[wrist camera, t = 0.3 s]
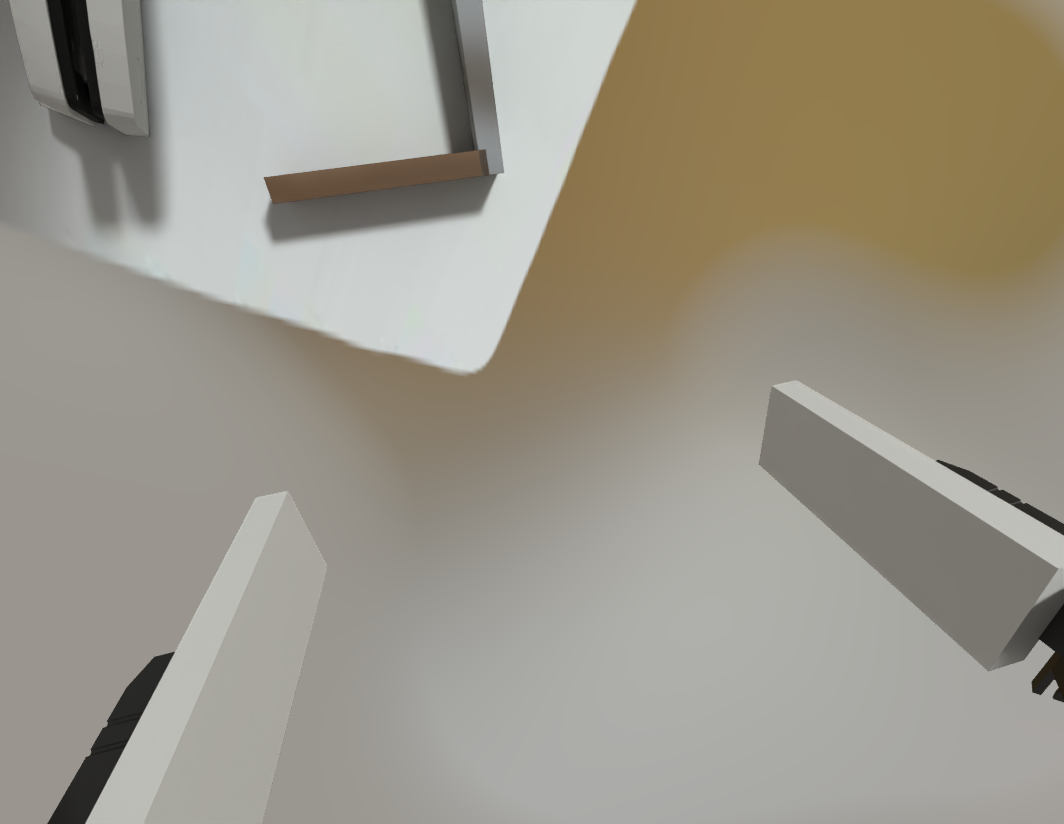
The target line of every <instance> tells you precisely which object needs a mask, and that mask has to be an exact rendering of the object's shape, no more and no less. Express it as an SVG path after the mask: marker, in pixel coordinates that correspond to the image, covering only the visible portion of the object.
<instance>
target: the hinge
mask: <svg viewBox="0 0 1064 824" xmlns="http://www.w3.org/2000/svg"><path fill="white" fill-rule="evenodd" d="M9 2H10V7H11V12H12V17H13V21H14V25H15V29H16V33H17V38H18V42H19V46H20V50H21V54H22V58H23V62H24V66H25V70H26V74H27V78H28V82H29V86H30V89H31V92H32V94H33V96H34V98H35V99H36V100H38V101H40V105H42V106H44V107H47V108H49V109H52V110H54V111H57V112H59V113H62V114H64V115H67V116H69V117H71V118H74V119H76V120H79V121H81V122H84V123H86V124H89V125H91V126H94V127H96V122H98V123H102V124H104V120H105V121H106V123H108V124H109V125H111V126H112V127H114V128H116V129H117V130H119V131H120V132H122V133H124V134H125V135H134V136H148V137H149V136H150V135H149V120H148V105H147V91H146V76H145V61H144V47H143V32H142V17H141V2H140V0H9Z"/></svg>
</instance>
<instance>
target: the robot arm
mask: <svg viewBox="0 0 1064 824" xmlns="http://www.w3.org/2000/svg"><path fill="white" fill-rule="evenodd" d="M759 465H760V466H761V467H762V468H764V469H765V470H766V471H767V472H768V473H769V474H770V475H771V476H773V478H775V479H776V480H777V481H778V482H779V483H780V484H781V485H782V486H783V487H785V488H786V489H787V490H788V491H789V492H790V493H791V494H792V495H793V496H795V497H796V498H797V499H798V500H799V501H800V502H801V503H802V504H803V505H805V506H806V507H807V508H808V509H809V510H810V511H811V512H812V513H814V514H815V515H816V516H817V517H818V518H819V519H820V520H821V521H822V522H824V523H825V524H826V525H827V526H828V527H829V528H830V529H831V530H832V531H833V532H835V533H836V534H837V535H838V536H839V537H840V538H841V539H842V540H843V541H845V542H846V543H847V544H848V545H849V546H850V547H851V548H852V549H853V550H854V551H856V552H857V553H858V554H859V555H860V556H862V558H863V559H864V560H866V561H867V562H868V563H869V564H870V565H871V566H872V567H874V569H876V570H877V571H878V572H879V573H880V574H881V575H882V576H883V577H884V578H886V579H887V580H888V581H889V582H890V583H891V584H892V585H893V586H895V587H896V588H897V589H898V590H899V591H900V592H901V593H902V594H903V595H904V596H906V597H907V598H908V599H909V600H910V601H911V602H912V603H913V604H914V605H916V606H917V607H918V608H919V609H920V610H921V611H922V612H923V613H925V614H926V615H927V616H928V617H929V618H930V619H931V620H932V621H933V622H934V623H935V624H937V625H938V626H939V627H940V628H941V629H942V630H943V631H944V632H946V633H947V634H948V635H949V636H950V637H951V638H952V639H953V640H954V641H955V642H957V643H958V644H959V645H960V646H961V647H962V648H963V649H964V650H966V651H967V652H968V653H969V654H970V655H971V656H972V657H973V658H974V659H975V660H977V661H978V662H979V663H980V664H981V665H982V666H983V667H984V668H985V669H987V670H988V671H991V670H994V669H997V668H1000V667H1003V666H1006V665H1010V664H1013V663H1016V662H1019V661H1022V660H1024V659H1025V658H1026V657H1027V655H1028V654H1029V652H1030V651H1031V650H1032V648H1033V647H1034V646H1035V644H1036V643H1037V642H1038V640H1039V639H1040V640H1041V641H1042V642H1044V643H1045V644H1046V645H1047V646H1049V647H1050V648H1051V649H1053V650H1054V651H1055V653H1054V654H1053V655H1052V657H1051V658H1050V659H1049V660H1048V662H1047V663H1046V664H1045V666H1044V667H1043V668H1042V669H1041V671H1040V672H1039V673H1038V674H1037V676H1036V677H1035V678H1034V679H1033V681H1032V692H1033V693H1036V694H1039V695H1041V694H1042V693H1043V692H1044V691H1045V689H1046V688H1047V687H1048V686H1049V685H1050V683H1051V682H1052V681H1053V680H1056V682H1057V684H1058V687H1059V688H1058V689H1057V690H1056V692H1055V694H1054V695H1053V698H1054V699H1055V700H1058V701H1062V702H1064V524H1063V523H1061V522H1059V521H1058V520H1056V519H1054V518H1052V517H1050V516H1048V515H1047V514H1045V513H1043V512H1042V511H1040V510H1038V509H1036V508H1034V507H1033V506H1031V505H1029V504H1027V503H1025V504H1023V503H1021V501H1020V499H1018V498H1017V497H1015V496H1013V495H1011V494H1010V493H1008V492H1006V491H1004V490H998V488H997V486H995V485H993V484H992V483H990V482H988V481H986V480H985V479H983V478H981V477H979V476H978V475H976V474H974V473H972V472H970V471H968V470H965V469H962V468H960V467H956V466H954V465H951V464H948V463H946V462H943V461H940V460H937V461H934V460H933V459H931V458H929V457H928V456H926V455H924V454H922V453H921V452H919V451H917V450H915V449H913V448H912V447H910V446H909V445H907V444H905V443H903V442H901V441H900V440H898V439H897V438H895V437H893V436H891V435H889V434H888V433H886V432H884V431H883V430H881V429H879V428H878V427H876V426H874V425H872V424H870V423H869V422H867V421H865V420H864V419H862V418H860V417H859V416H857V415H855V414H853V413H852V412H850V411H848V410H846V409H845V408H843V407H841V406H840V405H838V404H836V403H835V402H833V401H831V400H829V399H828V398H826V397H824V396H822V395H821V394H819V393H817V392H816V391H814V390H812V389H810V388H809V387H807V386H805V385H803V384H802V383H800V382H798V381H791V382H787V383H782V384H777V385H773V386H772V387H771V393H770V399H769V405H768V412H767V417H766V423H765V430H764V435H763V442H762V448H761V454H760V461H759ZM326 570H327V565H326V563H325V561H324V559H323V557H322V555H321V554H320V552H319V550H318V548H317V546H316V544H315V542H314V540H313V538H312V536H311V534H310V533H309V530H308V528H307V526H306V524H305V522H304V520H303V519H302V517H301V515H300V513H299V511H298V509H297V507H296V505H295V503H294V501H293V499H292V497H291V495H290V493H289V491H284V492H280V493H276V494H271V495H266V496H262V497H257V498H256V499H255V500H254V502H253V504H252V506H251V508H250V510H249V512H248V514H247V516H246V518H245V520H244V522H243V523H242V525H241V527H240V529H239V531H238V533H237V535H236V537H235V539H234V541H233V542H232V545H231V546H230V548H229V550H228V552H227V554H226V556H225V558H224V560H223V562H222V563H221V566H220V567H219V569H218V571H217V573H216V575H215V577H214V579H213V581H212V583H211V585H210V586H209V589H208V590H207V592H206V594H205V596H204V598H203V600H202V602H201V604H200V606H199V607H198V609H197V611H196V613H195V615H194V617H193V619H192V621H191V623H190V625H189V627H188V629H187V631H186V632H185V634H184V636H183V638H182V640H181V642H180V644H179V646H178V648H177V649H176V651H175V652H172V653H168V654H164V655H160V656H156V657H154V658H153V659H152V660H151V661H150V663H149V664H148V665H147V666H146V667H145V668H144V669H143V670H142V671H141V672H140V673H139V674H138V676H137V677H136V678H135V679H134V680H133V681H132V682H131V683H130V684H129V686H128V687H127V688H126V689H125V691H124V693H123V695H122V696H121V698H120V700H119V702H118V703H117V705H116V707H115V708H114V710H113V712H112V714H111V715H110V717H109V719H108V720H107V722H108V725H107V727H105V728H103V729H102V731H101V732H100V734H99V736H98V738H97V739H96V741H95V743H94V745H93V746H92V748H91V755H90V756H88V757H86V758H85V760H84V762H83V763H82V765H81V767H80V769H79V770H78V772H77V774H76V776H75V777H74V779H73V781H72V782H71V784H70V786H69V787H68V789H67V791H66V793H65V795H64V796H63V798H62V800H61V801H60V803H59V805H58V807H57V808H56V810H55V812H54V814H53V815H52V817H51V819H50V820H49V822H48V824H262V822H263V818H264V814H265V810H266V806H267V802H268V798H269V794H270V790H271V786H272V783H273V779H274V775H275V771H276V767H277V763H278V759H279V755H280V751H281V747H282V743H283V739H284V736H285V732H286V728H287V724H288V720H289V716H290V712H291V708H292V704H293V700H294V696H295V692H296V688H297V684H298V680H299V677H300V673H301V669H302V665H303V661H304V657H305V653H306V649H307V645H308V641H309V637H310V633H311V629H312V625H313V621H314V617H315V613H316V610H317V605H318V602H319V598H320V594H321V590H322V586H323V582H324V578H325V574H326Z"/></svg>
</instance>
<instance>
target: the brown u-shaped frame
mask: <svg viewBox="0 0 1064 824" xmlns="http://www.w3.org/2000/svg"><path fill="white" fill-rule="evenodd" d="M451 3H452V9H453V16H454V22H455V29H456V35H457V42H458V48H459V55H460V61H461V68H462V74H463V81H464V87H465V94H466V100H467V107H468V113H469V120H470V126H471V133H472V139H473V146H474V151H467V152H460V153H452V154H444V155H436V156H428V157H420V158H413V159H405V160H397V161H389V162H381V163H373V164H366V165H358V166H350V167H342V168H334V169H326V170H318V171H311V172H303V173H295V174H287V175H279V176H271V177H264V180H265V182H266V185H267V188H268V191H269V193H270V196H271V199H272V202H273V204H276V203H284V202H291V201H298V200H306V199H313V198H321V197H328V196H336V195H343V194H350V193H358V192H365V191H373V190H380V189H388V188H395V187H402V186H410V185H417V184H425V183H432V182H440V181H447V180H454V179H462V178H469V177H477V176H484V175H492V174H499V173H504V168H503V161H502V153H501V145H500V137H499V129H498V121H497V114H496V106H495V98H494V90H493V82H492V74H491V67H490V59H489V51H488V43H487V35H486V27H485V20H484V12H483V4H482V0H451Z"/></svg>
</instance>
